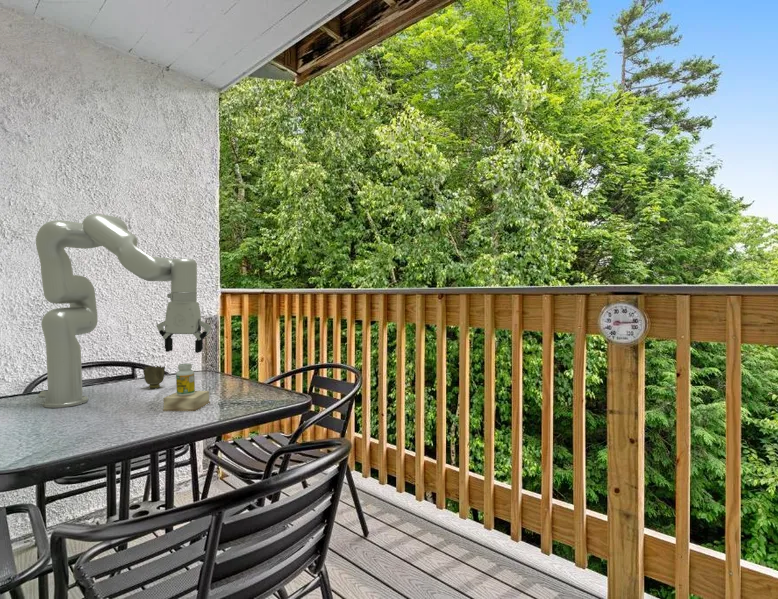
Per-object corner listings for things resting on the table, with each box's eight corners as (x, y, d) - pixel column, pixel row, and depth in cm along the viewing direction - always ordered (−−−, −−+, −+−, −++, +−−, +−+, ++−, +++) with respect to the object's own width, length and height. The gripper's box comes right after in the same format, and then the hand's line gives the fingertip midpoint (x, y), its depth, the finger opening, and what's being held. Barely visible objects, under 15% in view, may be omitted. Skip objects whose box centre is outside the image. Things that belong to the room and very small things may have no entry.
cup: (159, 390, 184) (159, 368, 183) (139, 390, 184) (139, 368, 184) (168, 386, 191) (168, 365, 191) (149, 386, 191) (149, 365, 191)
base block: (162, 411, 154) (162, 398, 154) (179, 402, 164) (179, 390, 164) (195, 411, 153) (195, 398, 153) (210, 403, 163) (209, 390, 163)
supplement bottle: (198, 393, 160) (197, 363, 160) (187, 396, 155) (186, 366, 155) (184, 392, 162) (183, 362, 162) (172, 395, 157) (172, 365, 156)
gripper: (151, 297, 154) (151, 352, 155) (205, 299, 153) (204, 354, 154) (163, 296, 162) (163, 349, 162) (215, 298, 161) (215, 350, 161)
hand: (183, 351), depth 158 cm, fingers open, 9 cm apart
